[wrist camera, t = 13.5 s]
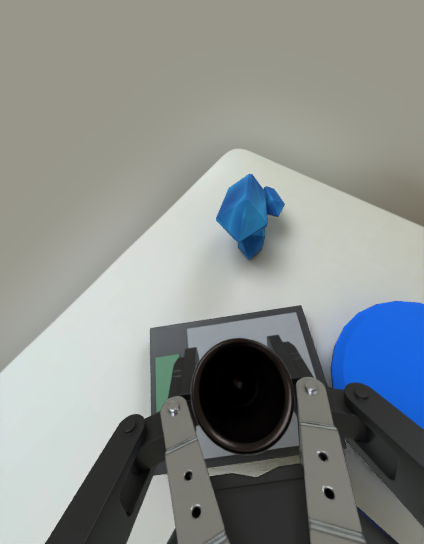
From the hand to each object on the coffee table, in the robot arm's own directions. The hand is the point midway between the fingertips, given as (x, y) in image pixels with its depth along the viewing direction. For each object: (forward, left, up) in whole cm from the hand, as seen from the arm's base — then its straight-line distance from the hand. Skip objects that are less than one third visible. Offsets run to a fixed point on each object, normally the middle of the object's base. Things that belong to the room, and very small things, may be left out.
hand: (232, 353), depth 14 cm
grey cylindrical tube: (0, -2, -6) cm, 7 cm away
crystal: (+5, +15, -10) cm, 19 cm away
